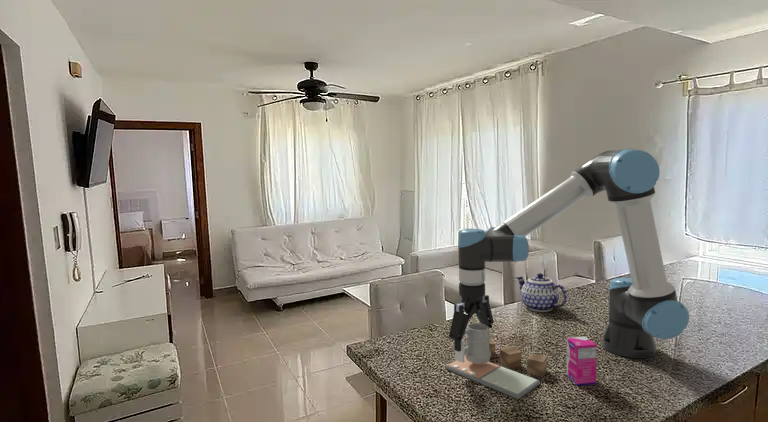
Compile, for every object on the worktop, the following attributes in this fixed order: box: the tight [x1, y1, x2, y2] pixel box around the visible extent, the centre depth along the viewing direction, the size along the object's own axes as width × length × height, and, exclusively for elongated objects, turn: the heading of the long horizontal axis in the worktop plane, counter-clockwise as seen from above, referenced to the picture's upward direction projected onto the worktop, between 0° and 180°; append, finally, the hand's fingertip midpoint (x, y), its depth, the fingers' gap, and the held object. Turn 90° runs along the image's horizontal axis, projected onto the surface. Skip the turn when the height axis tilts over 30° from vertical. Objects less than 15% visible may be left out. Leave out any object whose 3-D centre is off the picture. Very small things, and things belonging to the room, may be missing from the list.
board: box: [445, 355, 540, 400], centre depth 123 cm, size 24×11×1 cm, turn 42°
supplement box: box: [566, 336, 597, 387], centre depth 119 cm, size 6×6×12 cm
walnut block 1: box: [489, 337, 496, 359], centre depth 137 cm, size 4×4×4 cm
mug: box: [453, 322, 491, 364], centre depth 126 cm, size 8×12×12 cm, turn 113°
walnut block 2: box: [499, 345, 522, 370], centre depth 130 cm, size 4×4×4 cm
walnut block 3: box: [526, 352, 548, 378], centre depth 125 cm, size 4×4×4 cm
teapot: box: [515, 272, 568, 313], centre depth 180 cm, size 25×15×15 cm, turn 30°
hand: (472, 354), depth 127 cm, fingers closed on mug, 11 cm apart
